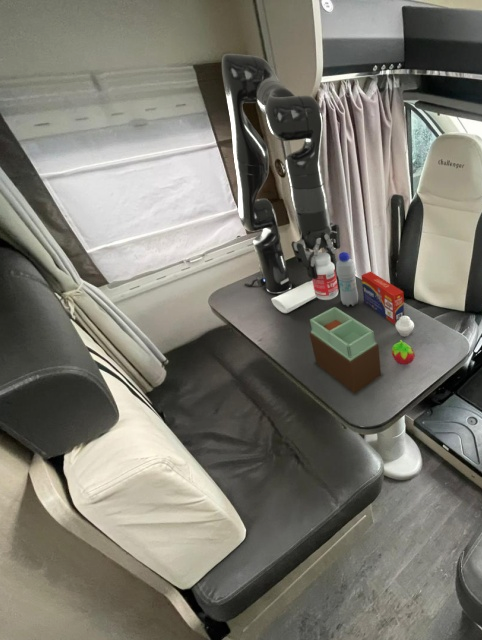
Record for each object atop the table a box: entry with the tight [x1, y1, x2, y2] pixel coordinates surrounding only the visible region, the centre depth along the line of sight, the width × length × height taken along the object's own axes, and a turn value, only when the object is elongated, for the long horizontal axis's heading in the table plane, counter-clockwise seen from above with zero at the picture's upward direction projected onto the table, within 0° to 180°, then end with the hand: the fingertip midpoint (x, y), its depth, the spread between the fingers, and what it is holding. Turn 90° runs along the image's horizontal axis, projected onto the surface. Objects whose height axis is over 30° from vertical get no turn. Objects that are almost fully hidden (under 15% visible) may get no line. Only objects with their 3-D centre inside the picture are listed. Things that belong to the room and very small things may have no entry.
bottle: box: [335, 251, 359, 307], centre depth 128 cm, size 7×7×20 cm
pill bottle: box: [311, 251, 339, 301], centre depth 93 cm, size 6×6×11 cm
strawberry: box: [391, 339, 415, 366], centre depth 107 cm, size 6×7×10 cm
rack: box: [308, 306, 382, 395], centre depth 103 cm, size 18×10×17 cm, turn 47°
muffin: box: [394, 315, 415, 338], centre depth 119 cm, size 6×6×7 cm
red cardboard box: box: [361, 271, 405, 326], centre depth 127 cm, size 18×4×12 cm, turn 42°
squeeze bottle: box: [270, 280, 317, 314], centre depth 134 cm, size 10×20×5 cm, turn 139°
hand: (323, 272), depth 92 cm, fingers closed on pill bottle, 6 cm apart
